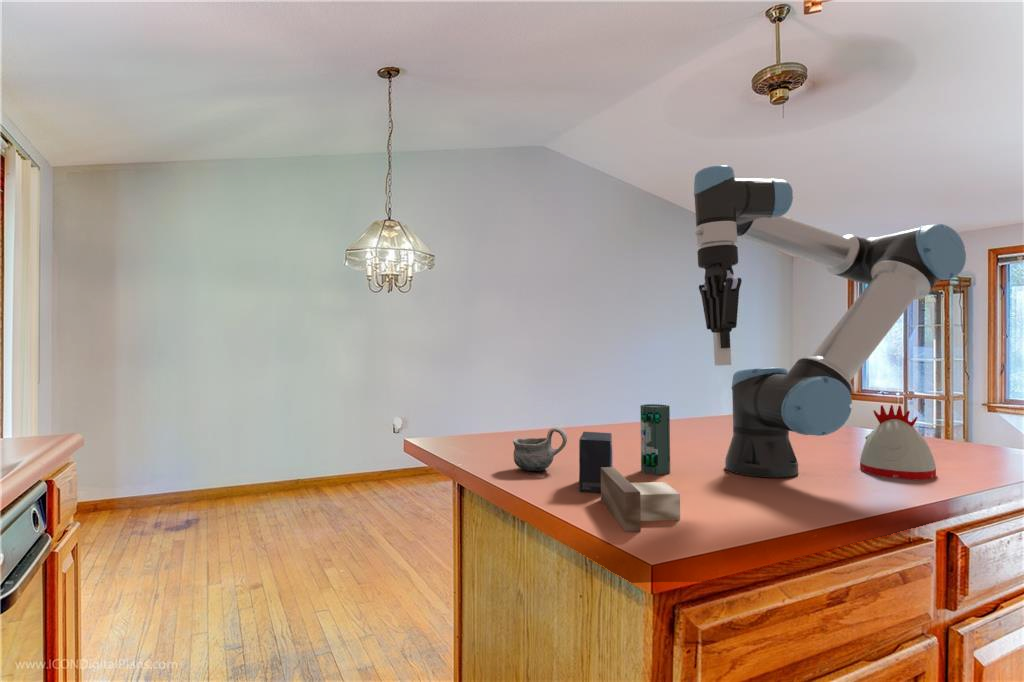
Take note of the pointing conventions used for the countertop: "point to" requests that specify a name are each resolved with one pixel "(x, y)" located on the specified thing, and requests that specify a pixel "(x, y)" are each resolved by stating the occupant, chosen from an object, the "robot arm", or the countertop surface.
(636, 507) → the walnut board
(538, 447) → the mug
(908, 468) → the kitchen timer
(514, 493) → the countertop surface
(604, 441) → the small box
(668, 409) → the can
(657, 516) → the maple block
